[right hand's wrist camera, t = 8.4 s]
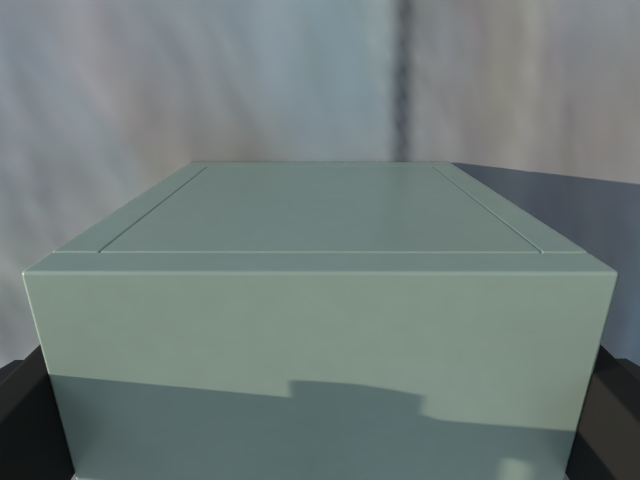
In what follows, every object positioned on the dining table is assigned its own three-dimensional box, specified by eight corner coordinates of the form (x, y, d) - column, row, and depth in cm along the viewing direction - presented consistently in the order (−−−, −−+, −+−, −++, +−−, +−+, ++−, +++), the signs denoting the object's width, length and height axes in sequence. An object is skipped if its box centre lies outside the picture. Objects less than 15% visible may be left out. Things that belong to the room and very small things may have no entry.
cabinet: (411, 519, 26) (473, 817, 15) (227, 519, 26) (165, 817, 15) (450, 161, 18) (622, 272, 8) (190, 161, 18) (18, 271, 8)
